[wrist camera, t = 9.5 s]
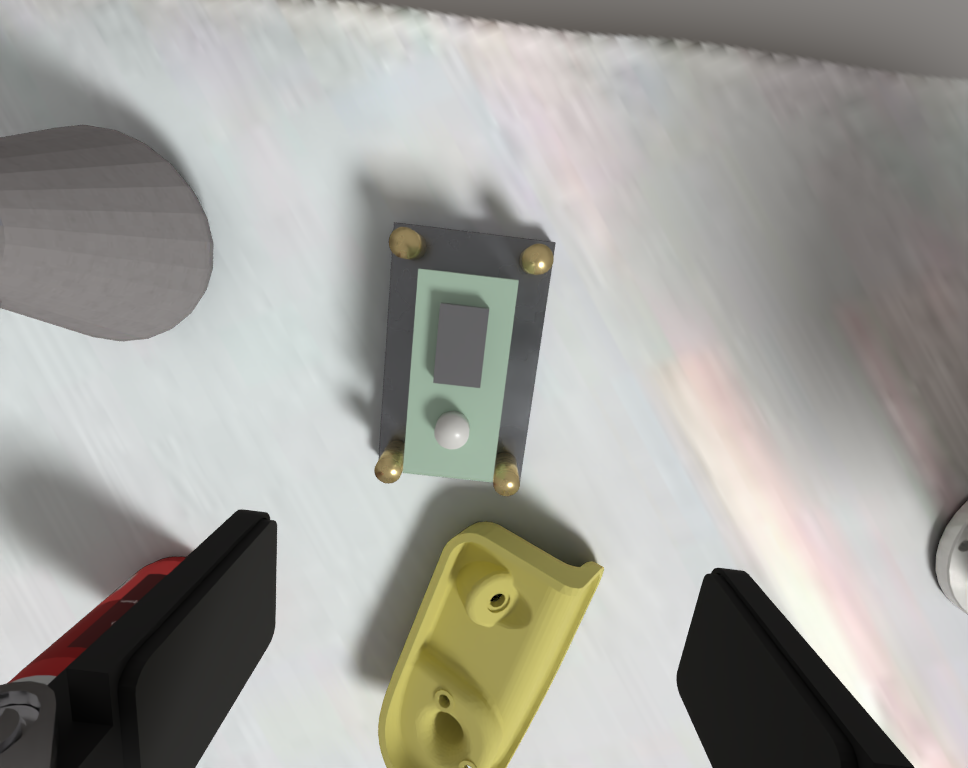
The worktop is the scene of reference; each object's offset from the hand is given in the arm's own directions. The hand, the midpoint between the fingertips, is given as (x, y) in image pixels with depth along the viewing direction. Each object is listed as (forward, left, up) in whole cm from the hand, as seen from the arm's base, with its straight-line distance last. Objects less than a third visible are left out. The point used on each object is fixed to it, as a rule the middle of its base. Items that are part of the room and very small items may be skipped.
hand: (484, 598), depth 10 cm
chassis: (+2, -1, -21) cm, 21 cm away
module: (+2, -1, -20) cm, 20 cm away
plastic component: (-2, +20, -21) cm, 29 cm away
